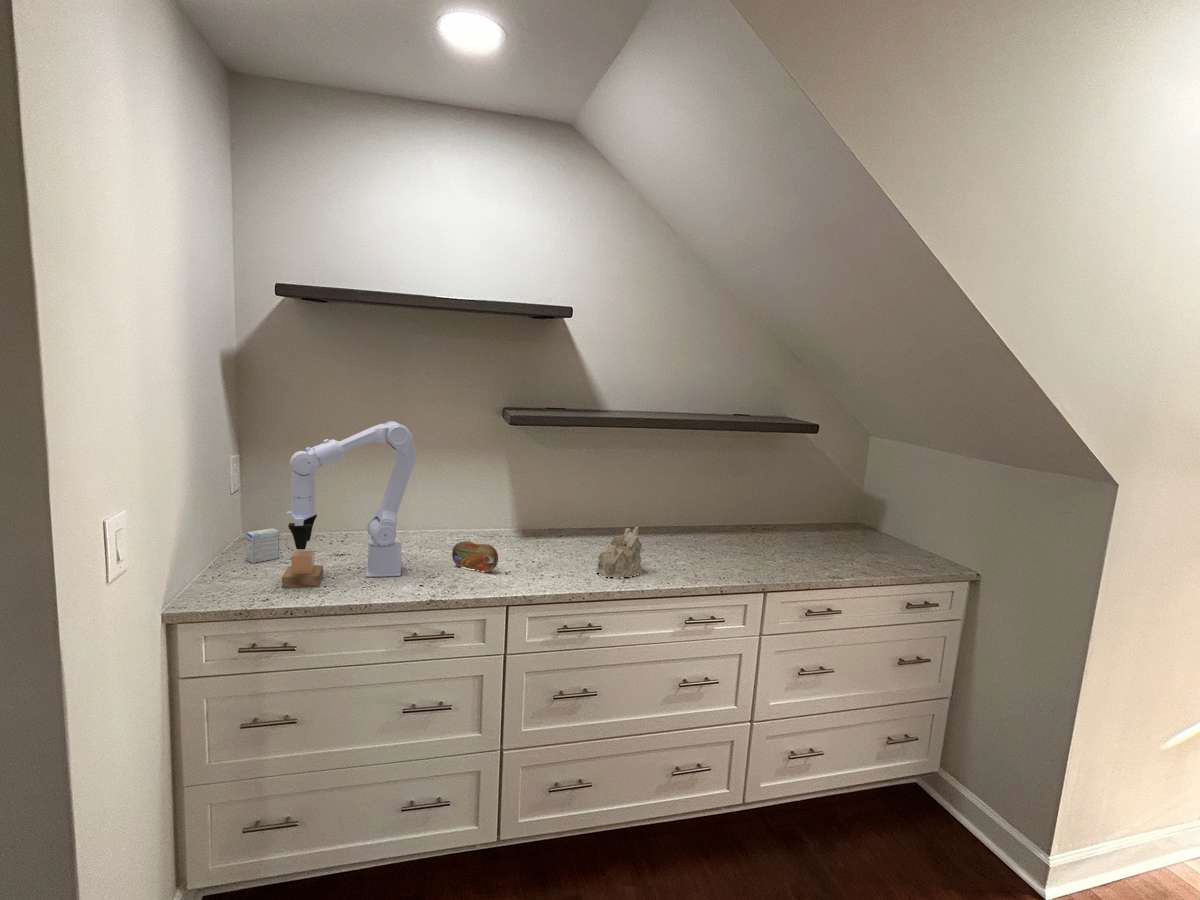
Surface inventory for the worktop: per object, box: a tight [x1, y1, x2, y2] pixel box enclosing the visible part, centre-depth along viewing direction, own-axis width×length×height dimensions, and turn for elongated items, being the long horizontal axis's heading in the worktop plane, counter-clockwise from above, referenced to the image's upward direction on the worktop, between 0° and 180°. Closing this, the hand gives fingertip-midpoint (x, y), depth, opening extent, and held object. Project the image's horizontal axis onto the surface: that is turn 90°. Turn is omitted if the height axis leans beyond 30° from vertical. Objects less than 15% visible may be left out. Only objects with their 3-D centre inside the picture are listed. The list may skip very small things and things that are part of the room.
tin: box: [451, 540, 499, 573], centre depth 191 cm, size 15×3×8 cm, turn 68°
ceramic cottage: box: [594, 526, 643, 577], centre depth 198 cm, size 16×16×15 cm
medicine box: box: [245, 527, 281, 564], centre depth 188 cm, size 8×4×9 cm, turn 141°
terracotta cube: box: [290, 549, 315, 574], centre depth 172 cm, size 5×5×5 cm
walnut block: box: [281, 564, 324, 589], centre depth 173 cm, size 9×9×3 cm
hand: (303, 544), depth 172 cm, fingers open, 7 cm apart
